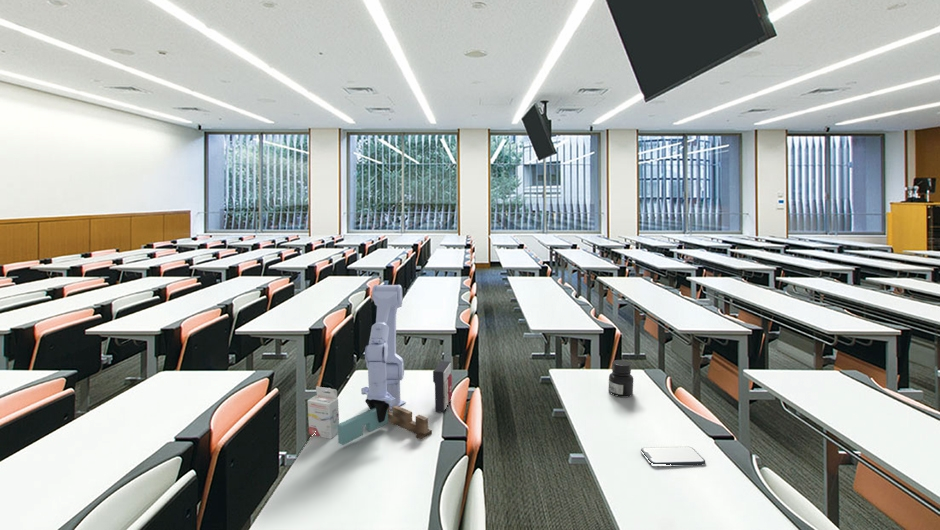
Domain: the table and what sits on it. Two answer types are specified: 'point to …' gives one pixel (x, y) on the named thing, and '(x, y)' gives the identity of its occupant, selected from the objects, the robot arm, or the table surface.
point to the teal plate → (359, 425)
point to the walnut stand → (409, 422)
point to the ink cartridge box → (323, 413)
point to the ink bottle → (621, 378)
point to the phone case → (673, 455)
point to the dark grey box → (442, 385)
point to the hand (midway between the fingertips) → (378, 420)
